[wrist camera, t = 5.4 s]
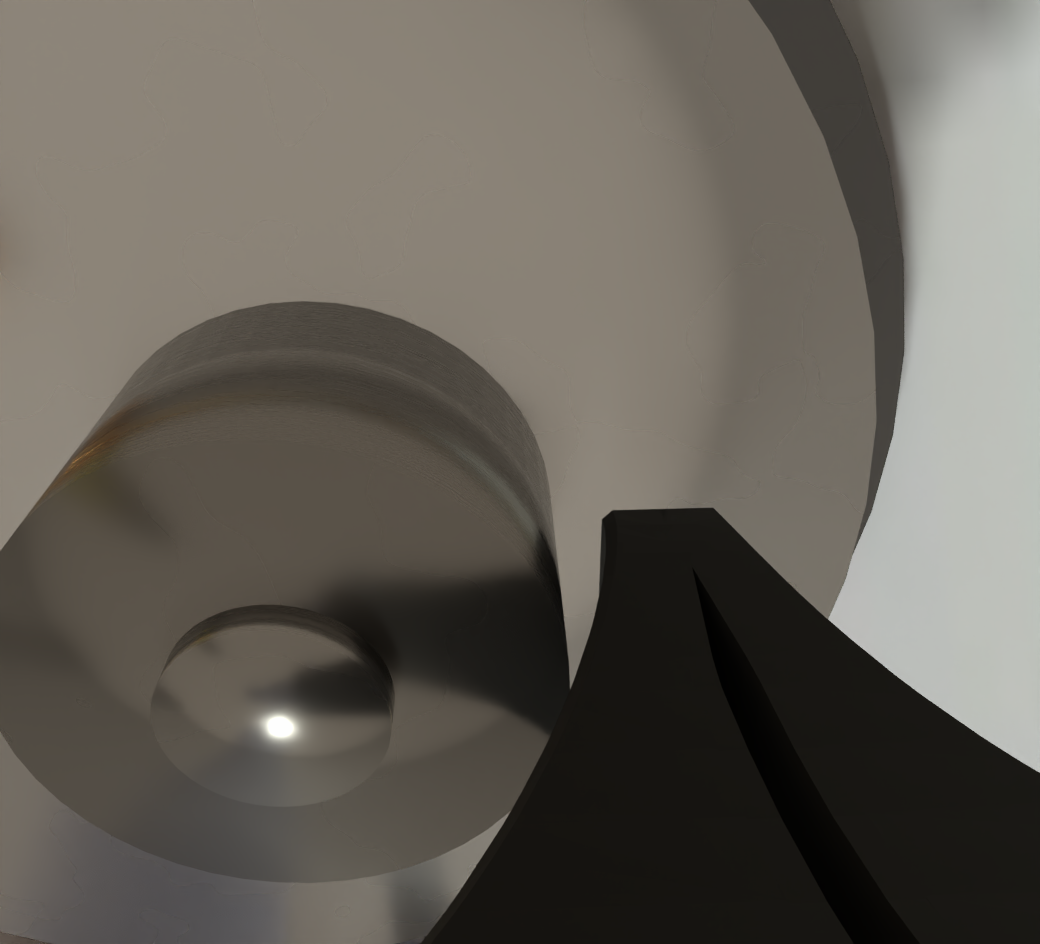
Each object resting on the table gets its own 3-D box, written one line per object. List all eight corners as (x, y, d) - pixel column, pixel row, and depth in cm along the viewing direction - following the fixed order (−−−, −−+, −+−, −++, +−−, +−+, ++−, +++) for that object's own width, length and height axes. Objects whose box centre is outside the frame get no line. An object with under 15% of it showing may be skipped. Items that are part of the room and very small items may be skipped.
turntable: (301, 1001, 20) (258, 1252, 16) (-760, 488, 13) (-1254, 719, 9) (1092, 440, 14) (1320, 639, 10) (-156, -1082, 7) (-902, -2229, 3)
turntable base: (316, 998, 21) (312, 1025, 21) (-792, 458, 14) (-841, 479, 13) (1153, 408, 14) (1178, 427, 14) (-156, -1298, 7) (-207, -1396, 6)
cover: (353, 742, 14) (315, 979, 11) (6, 518, 12) (-164, 732, 9) (642, 510, 12) (696, 716, 9) (290, 194, 10) (203, 324, 7)
